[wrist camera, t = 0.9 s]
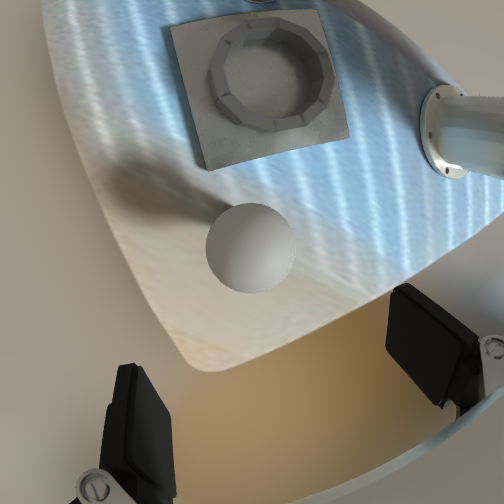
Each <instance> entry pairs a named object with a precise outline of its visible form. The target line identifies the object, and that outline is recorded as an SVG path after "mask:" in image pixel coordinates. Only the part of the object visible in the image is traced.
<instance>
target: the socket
mask: <svg viewBox="0 0 504 504" xmlns="http://www.w3.org/2000/svg"><path fill="white" fill-rule="evenodd" d="M262 38H269V39H272V40H274V41H277V42H280V43H283V44H285V45H288V46H290V47H291V48H292V50H293V51H294V52H295V53H296V54H297V55H298V56H299V57H300V58H301V59H302V60H303V61H304V62H305V66H306V70H307V73H308V77H309V81H310V85H309V88H308V92H307V95H306V99H305V102H304V104H303V105H302V106H300V107H299V108H298V109H297V110H296V111H295V112H294V113H293V114H291V115H290V116H289V117H287V118H281V119H276V120H275V119H272V118H269V117H266V116H263V115H260V114H257V113H253V112H250V111H249V110H248V109H247V108H246V107H245V106H244V105H243V104H242V103H241V102H240V101H239V100H238V99H237V98H236V97H235V96H234V95H233V94H232V93H231V92H230V89H229V85H228V82H227V78H226V74H225V70H224V64H225V62H226V59H227V56H228V53H229V52H230V51H231V50H233V49H234V48H235V47H237V46H238V45H239V44H240V43H242V42H243V41H247V40H254V39H262ZM207 78H208V82H209V86H210V90H211V93H212V97H213V101H214V103H215V105H216V106H217V107H218V108H219V109H220V110H221V111H222V112H223V113H224V114H225V115H227V116H228V117H229V118H230V119H231V120H232V121H233V122H234V123H235V124H237V125H238V126H242V127H245V128H249V129H252V130H256V131H259V132H262V133H274V132H280V131H284V130H289V129H294V128H299V127H305V126H307V125H308V124H309V123H310V122H312V121H313V120H314V119H315V118H316V117H317V116H318V115H319V114H320V113H321V112H322V111H324V110H325V109H326V108H327V106H328V105H329V101H330V97H331V94H332V90H333V86H334V83H335V76H334V72H333V68H332V65H331V61H330V57H329V54H328V52H327V50H326V49H325V48H324V46H323V45H322V44H321V43H320V42H319V41H318V40H317V39H316V38H315V37H314V36H313V34H312V33H311V32H310V31H309V30H308V29H306V28H304V27H302V26H300V25H297V24H295V23H292V22H289V21H287V20H284V19H282V18H279V17H268V18H258V19H249V20H244V21H243V22H242V23H240V24H239V25H237V26H236V27H234V28H233V29H232V30H230V31H229V32H228V33H226V34H225V35H224V36H222V37H221V38H220V40H219V42H218V45H217V48H216V50H215V53H214V56H213V59H212V62H211V65H210V67H209V70H208V73H207Z"/></svg>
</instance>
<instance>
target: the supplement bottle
mask: <svg viewBox="0 0 504 504" xmlns="http://www.w3.org/2000/svg"><path fill="white" fill-rule="evenodd" d="M247 1H250V2H255V3H266V2H271V1H273V0H247Z"/></svg>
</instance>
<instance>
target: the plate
mask: <svg viewBox="0 0 504 504" xmlns="http://www.w3.org/2000/svg"><path fill="white" fill-rule="evenodd" d="M268 17H279V18H282V19H284V20H287V21H289V22H292V23H295V24H297V25H300V26H302V27H304V28H306V29H308V30H309V31H310V32H311V33H312V34H313V36H314V37H315V38H316V39H317V40H318V41H319V42H320V43H321V44H322V45H323V46H324V48H325V49H326V50H327V52H328V54H329V57H330V61H331V65H332V68H333V72H334V76H335V83H334V86H333V90H332V94H331V97H330V101H329V105H328V106H327V108H326V109H325V110H324V111H322V112H321V113H320V114H319V115H318V116H317V117H316V118H315V119H314V120H313V121H312V122H310V123H309V124H308V125H307V126H305V127H299V128H294V129H289V130H284V131H280V132H274V133H262V132H259V131H256V130H252V129H249V128H245V127H242V126H238V125H237V124H235V123H234V122H233V121H232V120H231V119H230V118H229V117H228V116H227V115H225V114H224V113H223V112H222V111H221V110H220V109H219V108H218V107H217V106H216V105H215V103H214V101H213V97H212V93H211V90H210V86H209V82H208V78H207V73H208V70H209V67H210V65H211V62H212V59H213V56H214V53H215V50H216V48H217V45H218V42H219V40H220V38H221V37H222V36H224V35H225V34H226V33H228V32H229V31H230V30H232V29H233V28H234V27H236V26H237V25H239V24H240V23H242V22H243V21H244V20H249V19H258V18H268ZM170 32H171V36H172V40H173V44H174V48H175V52H176V56H177V60H178V64H179V67H180V71H181V75H182V79H183V83H184V87H185V91H186V94H187V98H188V102H189V106H190V110H191V113H192V117H193V121H194V125H195V128H196V132H197V136H198V139H199V143H200V147H201V150H202V154H203V157H204V161H205V165H206V168H207V171H208V172H209V171H213V170H216V169H220V168H223V167H227V166H230V165H234V164H238V163H241V162H245V161H249V160H253V159H257V158H260V157H264V156H268V155H273V154H277V153H281V152H285V151H290V150H294V149H298V148H303V147H308V146H312V145H317V144H322V143H327V142H332V141H337V140H343V139H348V138H350V134H349V129H348V124H347V119H346V115H345V110H344V105H343V101H342V97H341V92H340V88H339V84H338V80H337V76H336V72H335V68H334V65H333V61H332V57H331V54H330V50H329V47H328V44H327V40H326V37H325V34H324V31H323V27H322V24H321V21H320V18H319V15H318V12H317V9H297V10H274V11H261V12H251V13H242V14H235V15H228V16H221V17H216V18H210V19H205V20H200V21H195V22H190V23H186V24H182V25H177V26H173V27H170ZM224 70H225V74H226V78H227V82H228V85H229V89H230V92H231V93H232V94H233V95H234V96H235V97H236V98H237V99H238V100H239V101H240V102H241V103H242V104H243V105H244V106H245V107H246V108H247V109H248V110H249V111H250V112H253V113H257V114H260V115H263V116H266V117H269V118H272V119H275V120H276V119H281V118H287V117H289V116H290V115H291V114H293V113H294V112H295V111H296V110H297V109H298V108H299V107H300V106H302V105H303V104H304V102H305V99H306V95H307V92H308V88H309V85H310V81H309V77H308V73H307V70H306V66H305V62H304V61H303V60H302V59H301V58H300V57H299V56H298V55H297V54H296V53H295V52H294V51H293V50H292V48H291V47H290V46H288V45H285V44H283V43H280V42H277V41H274V40H272V39H269V38H262V39H254V40H247V41H243V42H242V43H240V44H239V45H238V46H237V47H235V48H234V49H233V50H231V51H230V52H229V53H228V56H227V59H226V62H225V64H224Z"/></svg>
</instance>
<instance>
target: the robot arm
mask: <svg viewBox="0 0 504 504" xmlns="http://www.w3.org/2000/svg"><path fill="white" fill-rule="evenodd" d="M420 132H421V140H422V144H423V148H424V151H425V154H426V157H427V159H428V160H429V162H430V164H431V166H432V167H433V168H434V170H435V171H436V172H437V173H439V174H440V175H441V176H443V177H445V178H449V179H460V178H462V177H464V176H465V175H467V173H468V172H469V171H470V172H474V173H478V174H482V175H486V176H490V177H494V178H497V179H501V180H504V97H486V96H465V95H464V93H462V92H461V91H460V90H459V89H458V88H456V87H454V86H451V85H440V86H436V87H434V88H433V89H431V90H430V92H429V93H428V94H427V95H426V97H425V100H424V102H423V105H422V109H421V115H420ZM478 338H479V337H478V336H477V335H476V334H475V333H473V332H472V331H471V330H470V329H469V328H467V327H466V326H465V325H463V324H462V323H461V322H460V321H458V320H457V319H456V318H455V317H453V316H452V315H451V314H449V313H448V312H447V311H446V310H444V309H443V308H442V307H440V306H439V305H438V304H436V303H435V302H434V301H432V300H431V299H430V298H428V297H427V296H426V295H424V294H423V293H422V292H420V291H419V290H418V289H416V288H415V287H414V286H412V285H411V284H409V283H404V284H402V285H399V286H397V287H395V288H394V289H393V292H392V293H391V295H390V306H389V317H388V327H387V335H386V344H385V346H386V350H387V352H388V353H389V354H390V355H391V356H392V358H393V359H394V360H395V361H396V362H397V363H398V364H399V365H400V367H401V368H402V369H403V370H404V371H405V372H406V373H407V374H408V376H409V377H410V378H411V379H412V380H413V381H414V382H415V384H416V385H417V386H418V387H419V388H420V389H421V390H422V392H423V393H424V394H425V395H426V396H427V397H428V399H429V400H430V401H431V402H432V403H433V404H434V405H438V406H439V407H440V408H441V409H444V408H445V407H447V406H449V405H450V404H451V403H452V402H454V403H455V404H456V419H455V421H454V422H452V423H451V424H450V425H448V426H447V427H445V428H444V429H442V430H441V431H439V432H438V433H437V434H435V435H433V436H432V437H430V438H429V439H427V440H426V441H424V442H423V443H421V444H419V445H418V446H416V447H414V448H413V449H411V450H409V451H408V452H406V453H404V454H402V455H400V456H399V457H397V458H395V459H393V460H391V461H389V462H388V463H386V464H384V465H382V466H380V467H378V468H376V469H374V470H372V471H370V472H368V473H365V474H363V475H361V476H359V477H357V478H354V479H352V480H350V481H348V482H345V483H343V484H340V485H338V486H335V487H333V488H330V489H328V490H325V491H322V492H319V493H317V494H314V495H311V496H308V497H305V498H302V499H299V500H296V501H292V502H289V503H286V504H504V337H501V336H498V335H489V336H487V337H485V338H484V339H483V340H482V341H481V343H479V342H478ZM174 472H175V471H174V459H173V445H172V428H171V416H170V413H169V411H168V410H167V408H166V407H165V405H164V403H163V402H162V400H161V399H160V397H159V395H158V394H157V392H156V390H155V389H154V387H153V385H152V383H151V382H150V380H149V378H148V377H147V375H146V373H145V371H144V370H143V368H142V367H141V366H137V365H136V364H135V363H131V364H125V365H120V366H119V367H118V371H117V376H116V382H115V387H114V393H113V399H112V403H111V404H109V405H108V407H107V411H106V417H105V424H104V431H103V439H102V446H101V455H100V465H99V469H90V470H87V471H86V472H84V473H83V474H82V475H81V476H80V477H79V479H78V480H77V482H76V494H77V496H78V497H77V498H75V499H74V500H73V501H72V502H71V503H70V504H173V498H175V497H176V495H177V493H176V482H175V473H174Z"/></svg>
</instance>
